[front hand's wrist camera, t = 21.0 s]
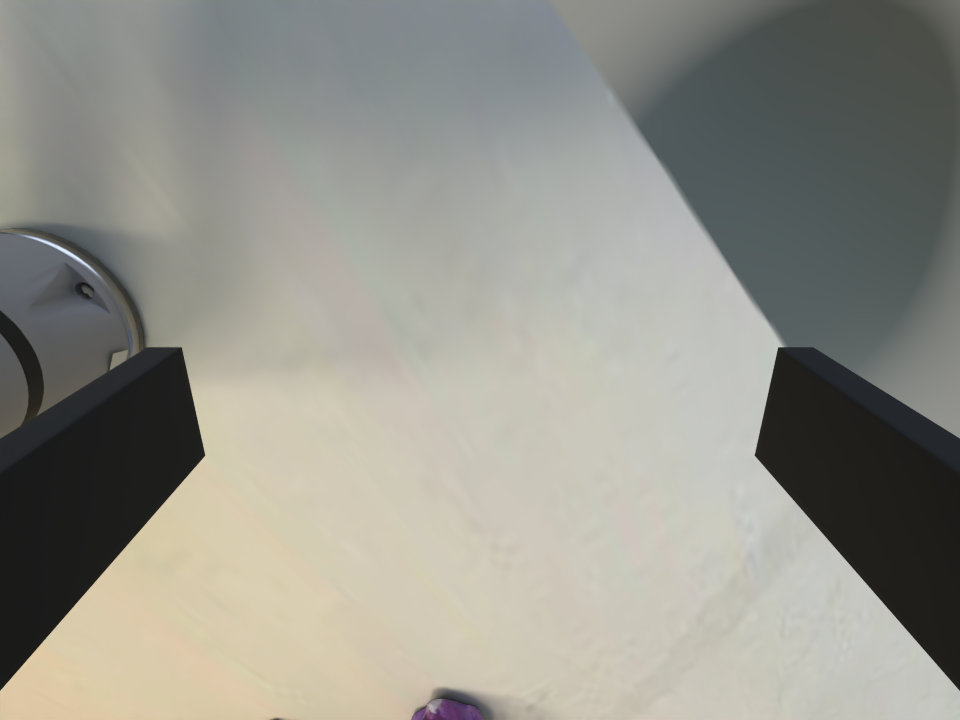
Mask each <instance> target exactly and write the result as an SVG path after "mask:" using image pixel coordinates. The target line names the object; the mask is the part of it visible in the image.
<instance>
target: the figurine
mask: <svg viewBox="0 0 960 720" xmlns="http://www.w3.org/2000/svg"><path fill="white" fill-rule="evenodd" d="M412 720H483V718H482V715H481V712H480V710H479V709H477V707H475V706H471V705H465V704H463V703H460V702H457V701H453V700H448V699H435V700H431V701H430V702H429V703H428V704H427V707H426V708H424V709H422V710H420V711H418V712H416V713H415V714H414V715H413V716H412Z"/></svg>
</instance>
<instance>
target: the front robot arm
mask: <svg viewBox="0 0 960 720" xmlns="http://www.w3.org/2000/svg"><path fill="white" fill-rule="evenodd" d="M143 347H144V344H143V332H142V327H141V323H140V319H139V316H138V314H137V311H136V309H135V306H134V304H133V302H132V300H131V299H130V297H129V295H128V293H127V292H126V290H125V289H124V287H123V286H122V285H121V283H120V282H119V281H118V280H117V278H116V277H115V276H114V275H113V274H112V273H111V272H110V271H109V270H108V269H107V268H106V267H105V266H104V265H103V264H102V263H101V262H100V261H99V260H97V259H96V258H95V257H93V256H92V255H91V254H89V253H88V252H86V251H85V250H83V249H82V248H80V247H78V246H77V245H75V244H73V243H71V242H69V241H67V240H65V239H62V238H60V237H57V236H54V235H52V234H48V233H44V232H40V231H35V230H28V229H6V230H0V690H1V689H2V688H3V687H4V686H5V685H6V683H7V682H8V681H9V680H10V679H11V678H12V677H13V675H14V674H15V673H16V672H17V671H18V670H19V669H20V667H21V666H22V665H23V664H24V663H25V662H26V661H27V659H28V658H29V657H30V656H31V655H32V654H33V652H34V651H35V650H36V649H37V648H38V647H39V646H40V644H41V643H42V642H43V641H44V640H45V639H46V638H47V636H48V635H49V634H50V633H51V632H52V631H53V630H54V628H55V627H56V626H57V625H58V624H59V623H60V622H61V620H62V619H63V618H64V617H65V616H66V615H67V613H68V612H69V611H70V610H71V609H72V608H73V607H74V605H75V604H76V603H77V602H78V601H79V600H80V599H81V597H82V596H83V595H84V594H85V593H86V592H87V591H88V589H89V588H90V587H91V586H92V585H93V584H94V583H95V581H96V580H97V579H98V578H99V577H100V576H101V574H102V573H103V572H104V571H105V570H106V569H107V568H108V566H109V565H110V564H111V563H112V562H113V561H114V560H115V558H116V557H117V556H118V555H119V554H120V553H121V552H122V550H123V549H124V548H125V547H126V546H127V545H128V544H129V542H130V541H131V540H132V539H133V538H134V537H135V535H136V534H137V533H138V532H139V531H140V530H141V529H142V527H143V526H144V525H145V524H146V523H147V522H148V521H149V519H150V518H151V517H152V516H153V515H154V514H155V513H156V511H157V510H158V509H159V508H160V507H161V506H162V505H163V503H164V502H165V501H166V500H167V499H168V498H169V496H170V495H171V494H172V493H173V492H174V491H175V490H176V488H177V487H178V486H179V485H180V484H181V483H182V482H183V480H184V479H185V478H186V477H187V476H188V475H189V474H190V472H191V471H192V470H193V469H194V468H195V467H196V466H197V464H198V463H199V462H200V461H201V460H202V459H203V457H204V456H205V452H204V448H203V443H202V439H201V434H200V429H199V425H198V420H197V416H196V411H195V406H194V402H193V397H192V393H191V388H190V383H189V379H188V374H187V370H186V365H185V360H184V356H183V351H182V347H147V348H145V349H144V350H143ZM755 456H756V457H757V459H758V460H759V461H760V462H761V463H762V464H763V466H764V467H765V468H766V469H767V470H768V471H769V472H770V474H771V475H772V476H773V477H774V478H775V479H776V480H777V482H778V483H779V484H780V485H781V486H782V487H783V488H784V490H785V491H786V492H787V493H788V494H789V495H790V496H791V498H792V499H793V500H794V501H795V502H796V503H797V505H798V506H799V507H800V508H801V509H802V510H803V511H804V513H805V514H806V515H807V516H808V517H809V518H810V519H811V521H812V522H813V523H814V524H815V525H816V526H817V527H818V529H819V530H820V531H821V532H822V533H823V534H824V535H825V537H826V538H827V539H828V540H829V541H830V542H831V544H832V545H833V546H834V547H835V548H836V549H837V550H838V552H839V553H840V554H841V555H842V556H843V557H844V558H845V560H846V561H847V562H848V563H849V564H850V565H851V566H852V568H853V569H854V570H855V571H856V572H857V573H858V574H859V576H860V577H861V578H862V579H863V580H864V581H865V583H866V584H867V585H868V586H869V587H870V588H871V589H872V591H873V592H874V593H875V594H876V595H877V596H878V597H879V599H880V600H881V601H882V602H883V603H884V604H885V605H886V607H887V608H888V609H889V610H890V611H891V612H892V613H893V615H894V616H895V617H896V618H897V619H898V620H899V622H900V623H901V624H902V625H903V626H904V627H905V628H906V630H907V631H908V632H909V633H910V634H911V635H912V636H913V638H914V639H915V640H916V641H917V642H918V643H919V644H920V646H921V647H922V648H923V649H924V650H925V651H926V652H927V654H928V655H929V656H930V657H931V658H932V659H933V661H934V662H935V663H936V664H937V665H938V666H939V667H940V669H941V670H942V671H943V672H944V673H945V674H946V675H947V677H948V678H949V679H950V680H951V681H952V682H953V683H954V685H955V686H956V687H957V688H958V689H959V690H960V438H958V437H956V436H955V435H953V434H952V433H950V432H948V431H947V430H945V429H944V428H942V427H940V426H939V425H937V424H935V423H934V422H932V421H931V420H929V419H927V418H926V417H924V416H923V415H921V414H919V413H918V412H916V411H915V410H913V409H911V408H910V407H908V406H907V405H905V404H903V403H902V402H900V401H898V400H897V399H895V398H894V397H892V396H890V395H889V394H887V393H886V392H884V391H882V390H881V389H879V388H878V387H876V386H874V385H873V384H871V383H869V382H868V381H866V380H865V379H863V378H861V377H860V376H858V375H857V374H855V373H853V372H852V371H850V370H849V369H847V368H845V367H844V366H842V365H841V364H839V363H837V362H836V361H834V360H833V359H831V358H829V357H828V356H826V355H824V354H823V353H821V352H820V351H818V350H816V349H815V348H813V347H778V351H777V356H776V360H775V365H774V370H773V374H772V379H771V383H770V388H769V393H768V397H767V402H766V406H765V411H764V416H763V420H762V425H761V429H760V434H759V439H758V443H757V448H756V452H755Z"/></svg>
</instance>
